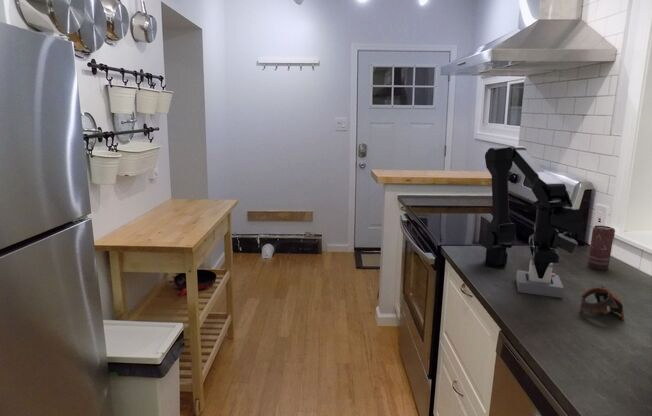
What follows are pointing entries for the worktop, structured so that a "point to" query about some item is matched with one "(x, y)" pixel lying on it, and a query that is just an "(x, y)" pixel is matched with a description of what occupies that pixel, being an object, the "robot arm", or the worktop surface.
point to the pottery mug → (602, 302)
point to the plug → (534, 277)
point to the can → (601, 247)
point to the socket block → (539, 285)
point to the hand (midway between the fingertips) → (539, 275)
